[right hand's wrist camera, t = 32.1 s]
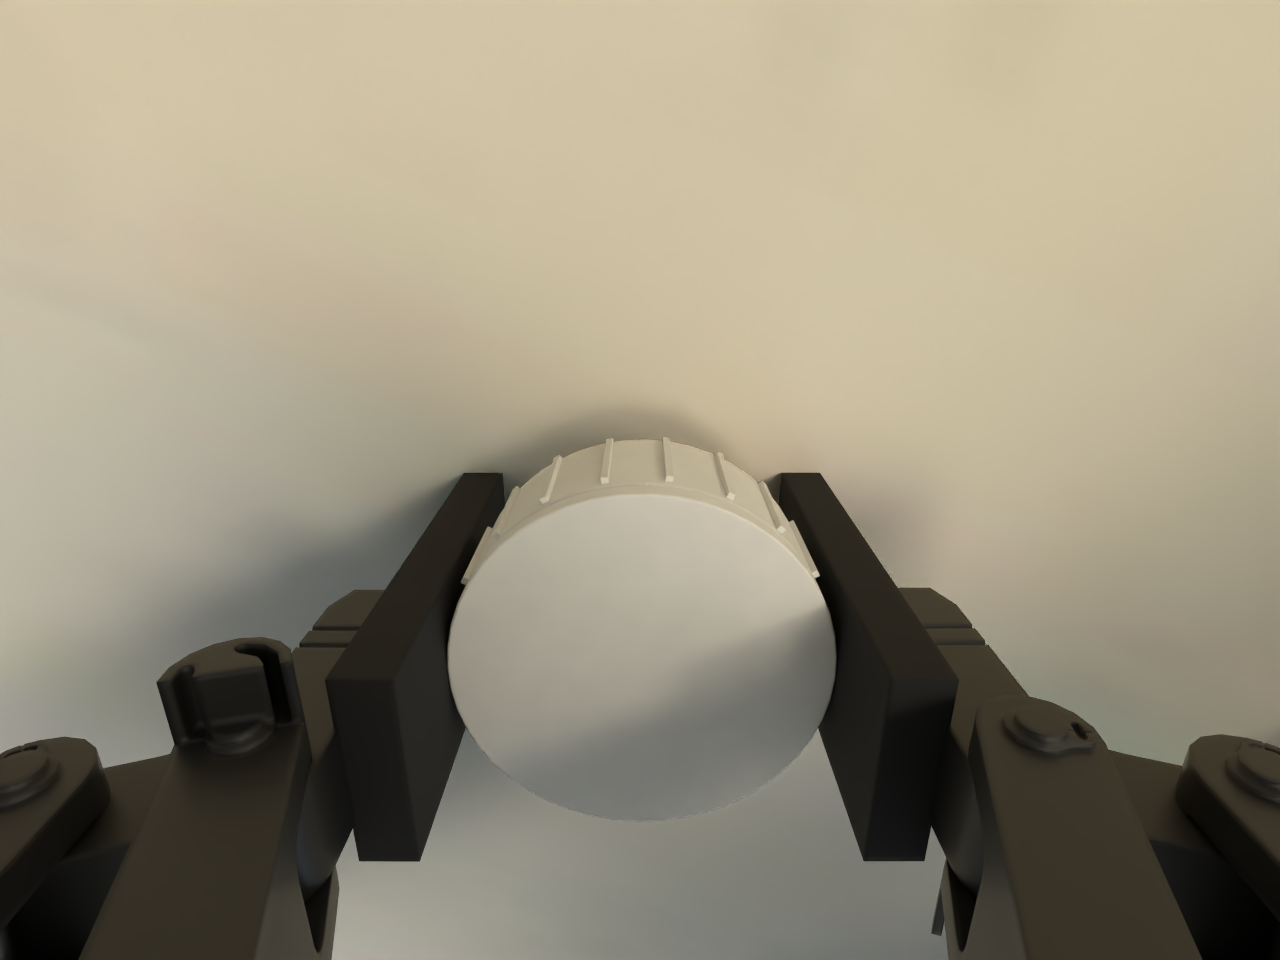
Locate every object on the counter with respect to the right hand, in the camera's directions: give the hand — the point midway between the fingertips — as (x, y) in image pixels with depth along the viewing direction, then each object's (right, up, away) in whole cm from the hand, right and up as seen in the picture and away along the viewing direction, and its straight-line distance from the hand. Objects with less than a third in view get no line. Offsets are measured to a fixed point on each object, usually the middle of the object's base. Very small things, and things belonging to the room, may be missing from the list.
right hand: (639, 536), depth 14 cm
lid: (0, -1, -4) cm, 4 cm away
